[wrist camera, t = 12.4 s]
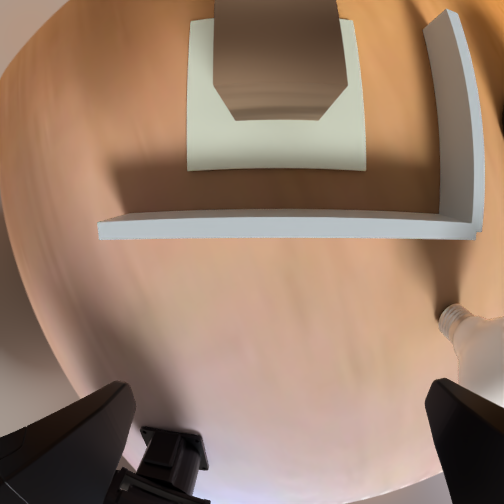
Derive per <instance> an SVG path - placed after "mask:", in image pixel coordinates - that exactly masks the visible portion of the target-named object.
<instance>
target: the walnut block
mask: <svg viewBox="0 0 504 504" xmlns="http://www.w3.org/2000/svg"><path fill="white" fill-rule="evenodd" d="M213 86H214V88H215V89H216V91H217V92H218V94H219V96H220V97H221V99H222V100H223V102H224V103H225V105H226V107H227V108H228V110H229V111H230V113H231V115H232V116H233V118H234V119H235V121H247V120H314V121H319V120H320V118H321V117H322V116H323V115H324V114H325V112H326V111H327V110H328V109H329V108H330V106H331V105H332V104H333V103H334V102H335V100H336V99H337V98H338V97H339V96H340V94H341V93H342V92H343V91H344V90H345V89H346V87H347V86H348V80H347V70H346V62H345V54H344V46H343V39H342V32H341V26H340V20H339V14H338V9H337V3H336V0H215V7H214V39H213Z"/></svg>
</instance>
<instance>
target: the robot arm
mask: <svg viewBox="0 0 504 504" xmlns="http://www.w3.org/2000/svg"><path fill="white" fill-rule="evenodd" d="M135 409H136V403H135V399H134V396H133V393H132V390H131V387H130V385H129V384H128V383H126V382H121V381H114V382H112V383H110V384H108V385H107V386H105V387H103V388H101V389H99V390H97V391H95V392H93V393H92V394H90V395H88V396H86V397H84V398H82V399H80V400H78V401H76V402H74V403H72V404H70V405H69V406H66V407H65V408H63V409H61V410H59V411H57V412H55V413H53V414H51V415H49V416H46V417H44V418H43V419H40V420H39V421H36V422H34V423H32V424H30V425H28V426H27V427H23V428H21V429H19V430H17V431H15V432H12V433H10V434H8V435H5V436H3V437H0V504H210V502H211V501H210V500H206V499H200V498H197V497H194V496H192V494H193V490H194V486H195V482H196V478H197V474H198V470H208V468H209V465H208V461H207V456H206V452H205V448H204V444H203V440H202V438H201V437H200V436H197V435H190V434H183V433H177V432H170V431H164V430H159V429H154V428H149V427H141V429H140V432H141V434H142V437H143V439H144V441H145V444H146V446H147V449H146V451H145V453H144V456H143V458H142V460H141V462H140V465H139V467H138V469H137V472H136V474H135V473H133V472H131V471H129V470H128V469H126V468H124V467H122V469H121V471H120V470H116V468H117V466H118V463H119V460H120V458H121V456H122V453H123V451H124V448H125V445H126V441H127V437H128V434H129V430H130V427H131V423H132V420H133V416H134V413H135ZM425 409H426V412H427V416H428V420H429V424H430V428H431V432H432V437H433V441H434V445H435V448H436V451H437V454H438V457H439V460H440V463H441V466H442V469H443V472H444V475H445V479H446V482H447V485H448V489H449V492H450V496H451V500H452V503H453V504H504V408H503V407H501V406H499V405H497V404H495V403H493V402H491V401H489V400H487V399H485V398H483V397H481V396H480V395H478V394H476V393H474V392H472V391H470V390H468V389H466V388H464V387H462V386H460V385H458V384H456V383H455V382H453V381H451V380H449V379H447V378H441V379H437V380H434V381H433V383H432V385H431V387H430V390H429V392H428V395H427V397H426V399H425ZM120 488H122V489H124V490H121V489H120ZM125 490H126V491H125Z"/></svg>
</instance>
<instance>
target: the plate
mask: <svg viewBox="0 0 504 504" xmlns="http://www.w3.org/2000/svg"><path fill="white" fill-rule="evenodd" d="M339 20H340V26H341V32H342V39H343V46H344V54H345V62H346V70H347V80H348V86H347V87H346V89H345V90H344V91H343V92H342V93H341V94H340V96H339V97H338V98H337V99H336V100H335V102H334V103H333V104H332V105H331V106H330V108H329V109H328V110H327V111H326V112H325V114H324V115H323V116H322V117H321V118H320V120H319V121H314V120H247V121H235V119H234V118H233V116H232V115H231V113H230V111H229V110H228V108H227V107H226V105H225V103H224V102H223V100H222V99H221V97H220V96H219V94H218V92H217V91H216V89H215V88H214V86H213V39H214V18H210V19H203V20H196V21H191V23H190V38H189V56H188V82H187V171H200V170H220V169H252V168H305V169H336V170H356V171H366V137H365V117H364V103H363V91H362V81H361V72H360V63H359V56H358V49H357V42H356V36H355V30H354V24H353V21H352V20H345V19H339Z"/></svg>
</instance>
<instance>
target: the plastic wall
mask: <svg viewBox="0 0 504 504" xmlns="http://www.w3.org/2000/svg"><path fill="white" fill-rule="evenodd" d="M423 34H424V38H425V42H426V46H427V51H428V56H429V60H430V66H431V71H432V77H433V83H434V90H435V97H436V105H437V115H438V126H439V142H440V204H439V214H432V213H416V212H396V211H373V210H340V209H220V210H186V211H162V212H142V213H128V214H124V215H121V216H117V217H114V218H110V219H107V220H104V221H100V222H97V225H98V234H99V240H116V239H169V238H401V239H452V240H476V232H482V224H483V212H484V193H485V158H484V139H483V127H482V117H481V109H480V102H479V95H478V89H477V84H476V79H475V74H474V69H473V65H472V60H471V56H470V52H469V49H468V45H467V41H466V38H465V35H464V31H463V28H462V25H461V22H460V19H459V16H458V13H455V12H453V11H451V10H448V9H445V10H444V11H443V12H442V13H441V14H440V15H438V16H437V17H436V18H435V19H434V20H433V21H432V22H431V23H429V24H428V25H427V26H426V27H425V28H424V29H423Z"/></svg>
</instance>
